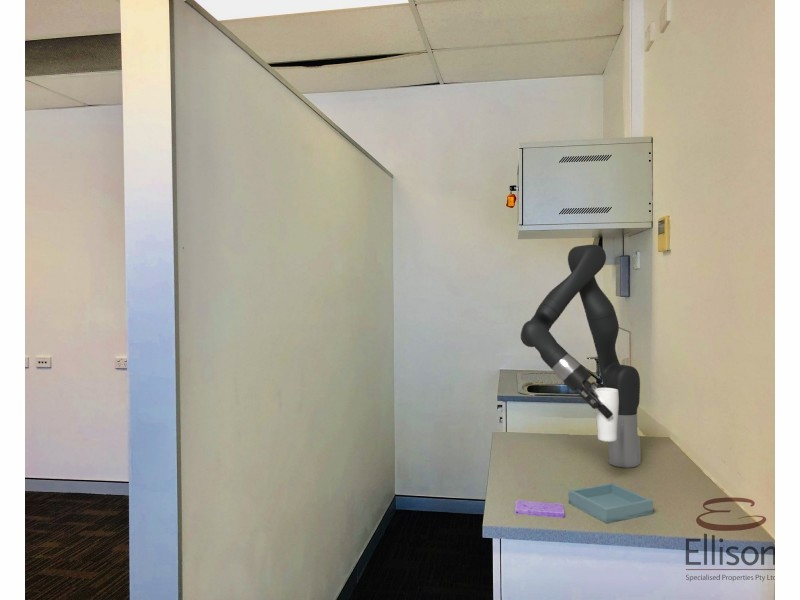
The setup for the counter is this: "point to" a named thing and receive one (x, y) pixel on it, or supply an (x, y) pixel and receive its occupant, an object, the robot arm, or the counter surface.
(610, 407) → the white paper cup
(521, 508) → the sponges
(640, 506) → the tray
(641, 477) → the counter surface
